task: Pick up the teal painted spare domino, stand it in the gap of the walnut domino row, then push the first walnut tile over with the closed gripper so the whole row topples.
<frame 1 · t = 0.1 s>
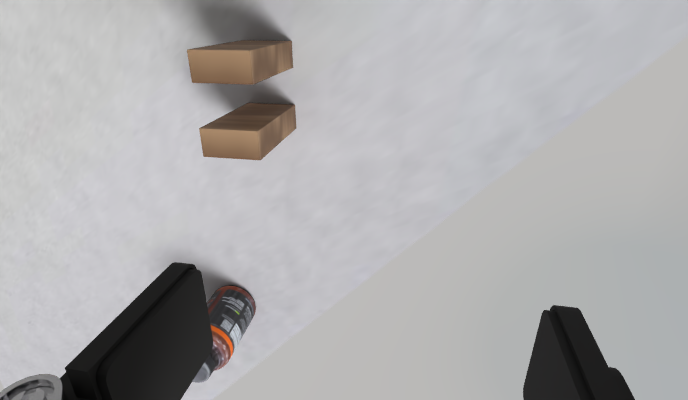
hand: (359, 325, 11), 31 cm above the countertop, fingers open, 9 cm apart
domino 4: (267, 53, 40), on the countertop
supplement bottle: (236, 301, 54), on the countertop
domino 5: (272, 115, 42), on the countertop
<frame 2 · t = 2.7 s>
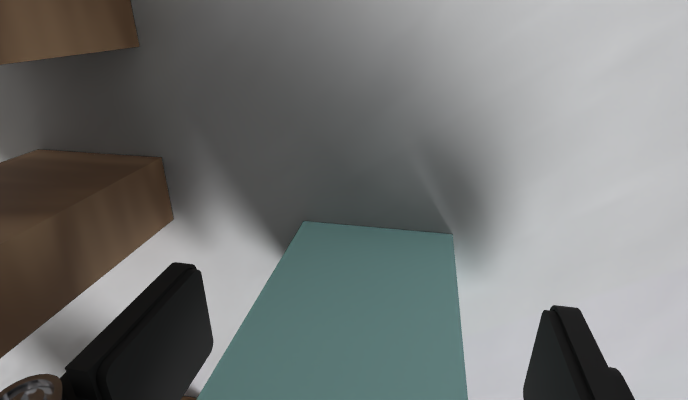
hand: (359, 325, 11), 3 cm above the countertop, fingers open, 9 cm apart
domino 2: (106, 184, 15), on the countertop, touching gripper
spare domino: (374, 257, 14), on the countertop
domino 1: (58, 4, 13), on the countertop
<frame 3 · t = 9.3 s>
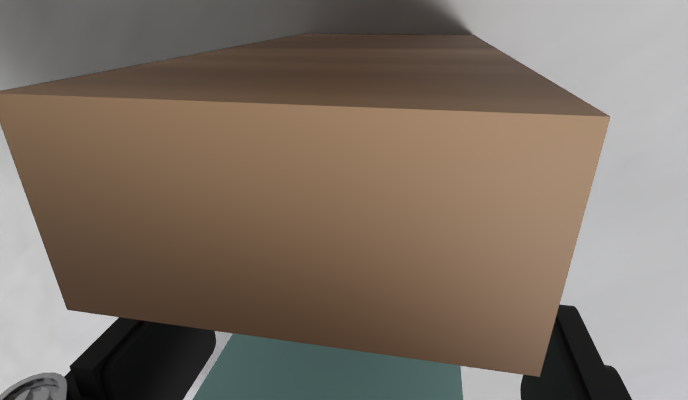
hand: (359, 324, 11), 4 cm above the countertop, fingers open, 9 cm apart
domino 2: (384, 76, 13), on the countertop
spare domino: (375, 244, 15), on the countertop
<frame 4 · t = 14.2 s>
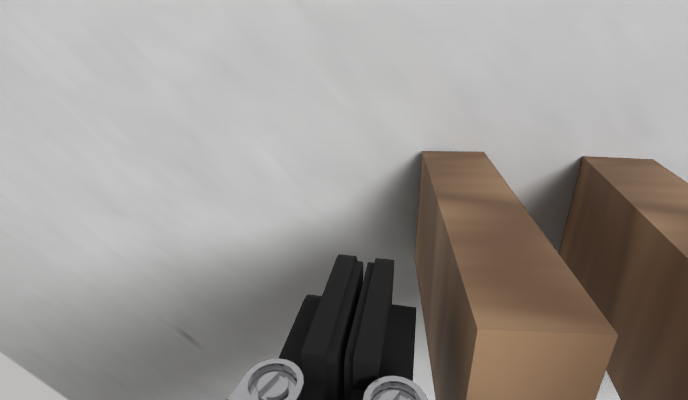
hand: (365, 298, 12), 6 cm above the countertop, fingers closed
domino 2: (600, 217, 16), on the countertop
domino 1: (446, 208, 17), on the countertop, tilted 6°, touching gripper
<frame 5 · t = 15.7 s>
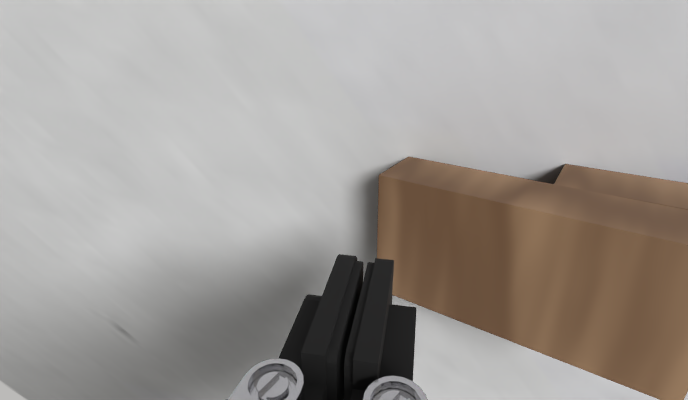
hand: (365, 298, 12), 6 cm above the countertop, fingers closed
domino 2: (546, 234, 16), point 1 cm above the countertop, tilted 67°, touching domino 1, spare domino
domino 1: (392, 223, 17), point 1 cm above the countertop, tilted 66°, touching domino 2
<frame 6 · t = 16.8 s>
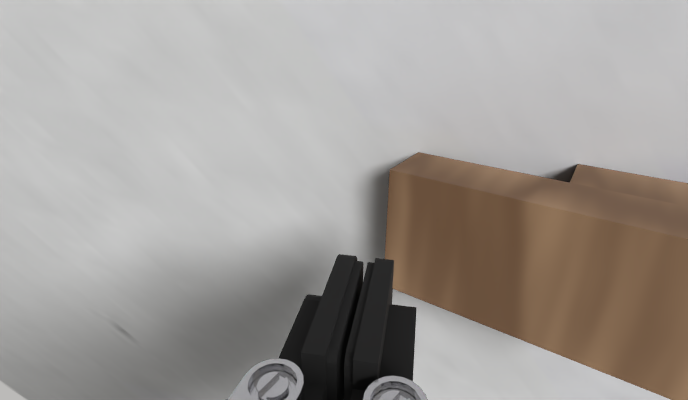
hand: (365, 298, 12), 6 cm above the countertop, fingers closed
domino 2: (557, 234, 16), point 1 cm above the countertop, tilted 67°, touching domino 1
domino 1: (400, 219, 17), point 1 cm above the countertop, tilted 67°, touching domino 2
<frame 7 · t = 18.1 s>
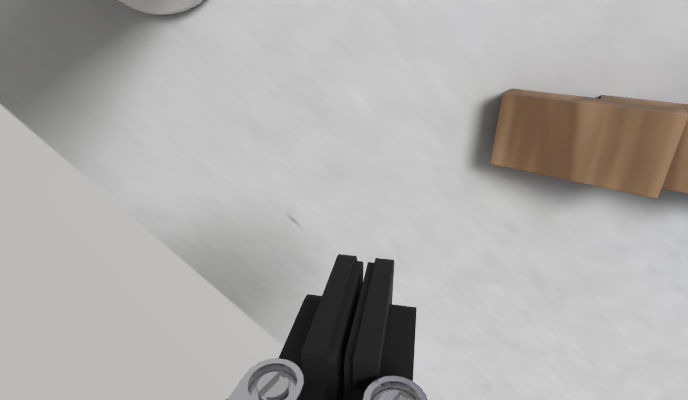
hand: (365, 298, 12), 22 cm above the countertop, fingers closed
domino 2: (590, 134, 29), point 1 cm above the countertop, tilted 69°, touching domino 1, spare domino
domino 1: (500, 126, 30), point 1 cm above the countertop, tilted 67°, touching domino 2
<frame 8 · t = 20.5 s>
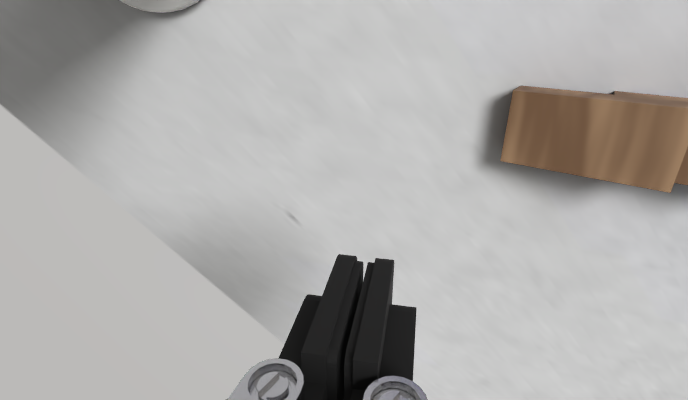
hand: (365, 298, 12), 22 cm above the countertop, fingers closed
domino 2: (604, 130, 29), point 1 cm above the countertop, tilted 72°, touching domino 1
domino 1: (510, 123, 30), point 1 cm above the countertop, tilted 68°, touching domino 2
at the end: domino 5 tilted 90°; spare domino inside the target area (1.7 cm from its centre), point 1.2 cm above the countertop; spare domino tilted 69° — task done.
